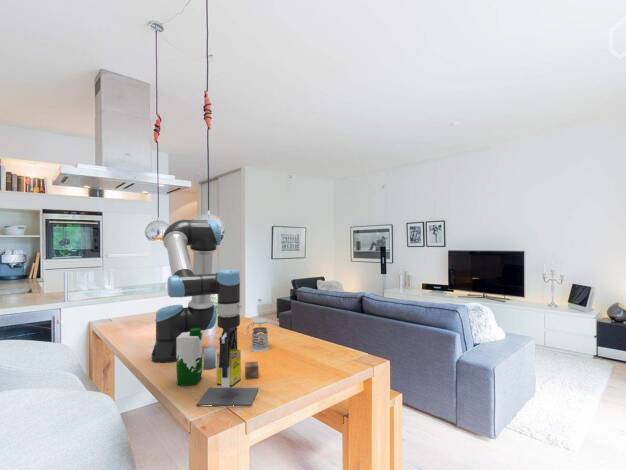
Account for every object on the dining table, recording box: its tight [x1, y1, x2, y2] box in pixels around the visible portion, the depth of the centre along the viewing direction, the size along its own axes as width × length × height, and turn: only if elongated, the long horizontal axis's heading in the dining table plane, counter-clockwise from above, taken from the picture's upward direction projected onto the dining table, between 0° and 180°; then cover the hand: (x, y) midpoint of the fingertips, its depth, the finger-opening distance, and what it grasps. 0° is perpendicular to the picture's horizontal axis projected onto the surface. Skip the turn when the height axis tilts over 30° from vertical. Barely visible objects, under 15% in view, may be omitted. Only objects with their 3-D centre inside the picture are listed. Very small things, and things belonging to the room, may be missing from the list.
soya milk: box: [176, 328, 203, 386], centre depth 128 cm, size 9×9×20 cm
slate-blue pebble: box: [202, 346, 217, 371], centre depth 142 cm, size 5×5×8 cm
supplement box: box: [216, 349, 242, 388], centre depth 115 cm, size 6×6×11 cm
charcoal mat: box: [196, 387, 259, 407], centre depth 115 cm, size 18×12×1 cm, turn 88°
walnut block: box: [244, 361, 259, 381], centre depth 133 cm, size 5×5×5 cm
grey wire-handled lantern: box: [246, 298, 270, 353], centre depth 167 cm, size 10×12×25 cm
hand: (228, 381), depth 115 cm, fingers closed on supplement box, 7 cm apart
